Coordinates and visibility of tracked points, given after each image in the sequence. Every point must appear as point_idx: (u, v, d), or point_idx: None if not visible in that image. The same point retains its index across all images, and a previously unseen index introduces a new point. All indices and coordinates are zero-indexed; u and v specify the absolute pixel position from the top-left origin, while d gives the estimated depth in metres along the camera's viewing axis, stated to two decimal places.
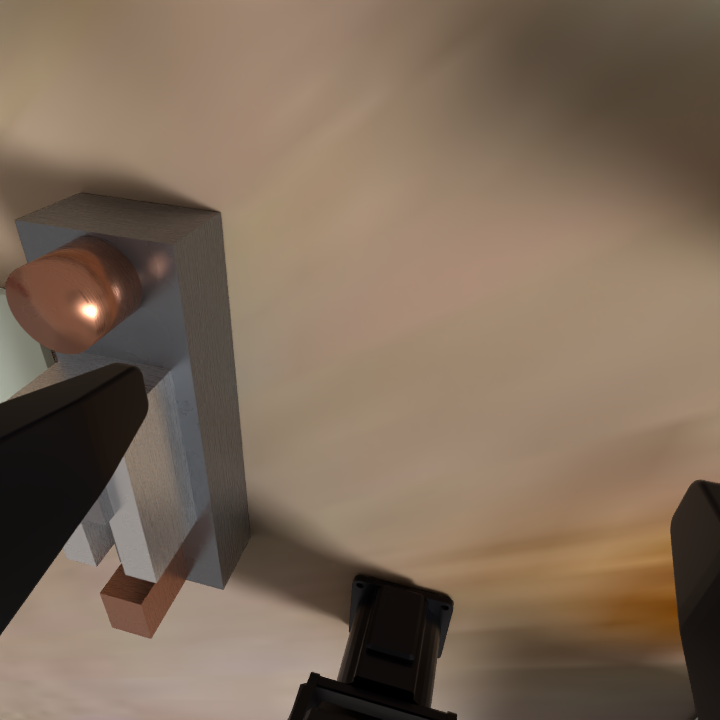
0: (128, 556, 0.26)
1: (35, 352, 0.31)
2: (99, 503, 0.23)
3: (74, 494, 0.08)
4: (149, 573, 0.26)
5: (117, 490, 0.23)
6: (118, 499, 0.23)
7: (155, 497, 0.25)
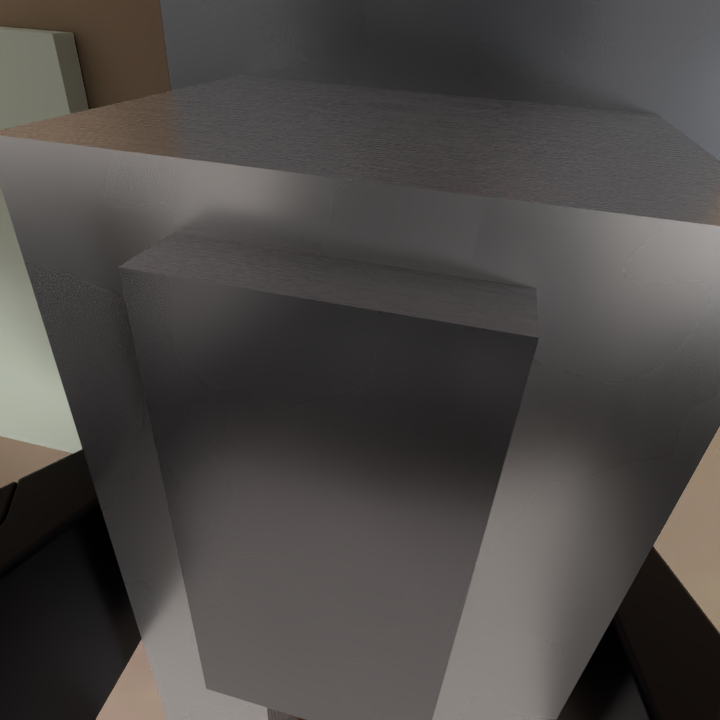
0: None
1: None
2: (440, 687, 0.05)
3: None
4: None
5: (511, 618, 0.05)
6: (491, 650, 0.05)
7: None
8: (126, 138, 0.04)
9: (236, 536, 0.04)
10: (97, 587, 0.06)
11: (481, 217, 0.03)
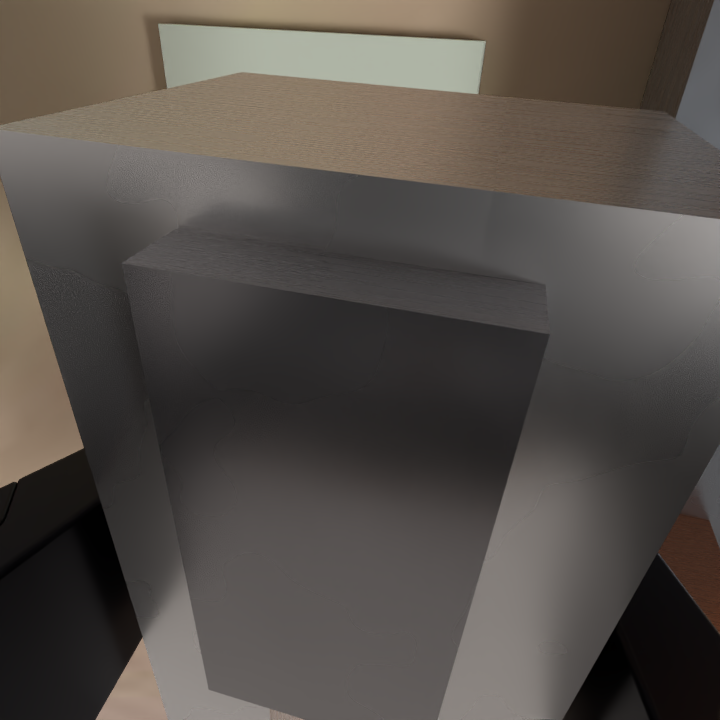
0: None
1: None
2: (447, 688, 0.05)
3: None
4: None
5: (517, 619, 0.05)
6: (496, 651, 0.05)
7: None
8: (129, 133, 0.04)
9: (240, 536, 0.04)
10: (97, 587, 0.06)
11: (490, 212, 0.03)
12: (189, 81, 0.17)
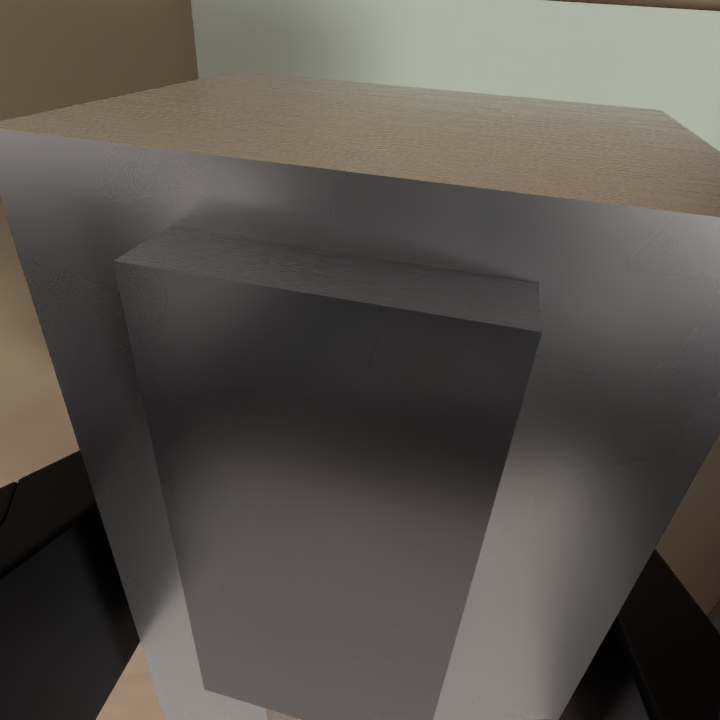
0: None
1: None
2: (441, 688, 0.05)
3: None
4: None
5: (513, 619, 0.05)
6: (492, 650, 0.05)
7: None
8: (122, 131, 0.04)
9: (234, 535, 0.04)
10: (97, 587, 0.06)
11: (483, 209, 0.03)
12: None
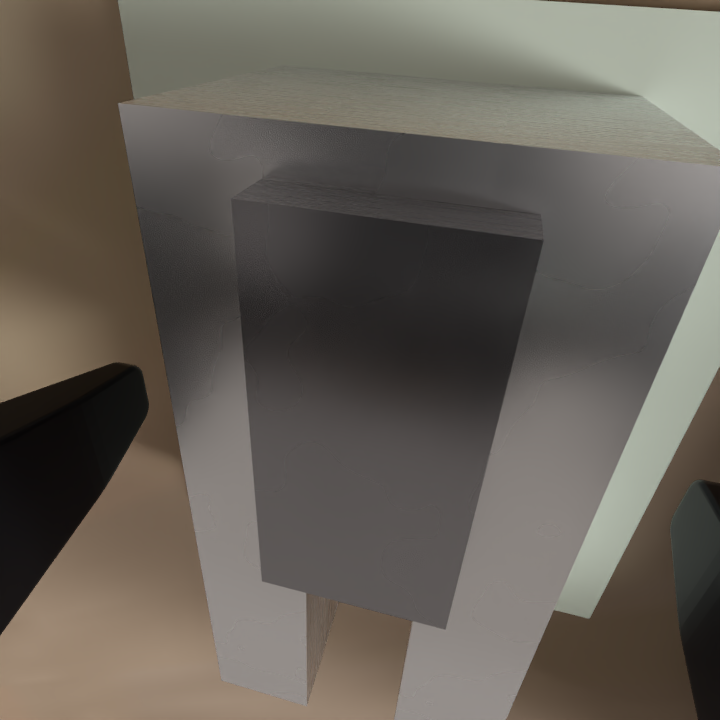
0: (431, 696, 0.09)
1: None
2: (463, 557, 0.06)
3: (74, 494, 0.08)
4: None
5: (520, 506, 0.06)
6: (503, 538, 0.06)
7: None
8: (224, 107, 0.05)
9: (302, 427, 0.05)
10: None
11: (500, 160, 0.04)
12: None
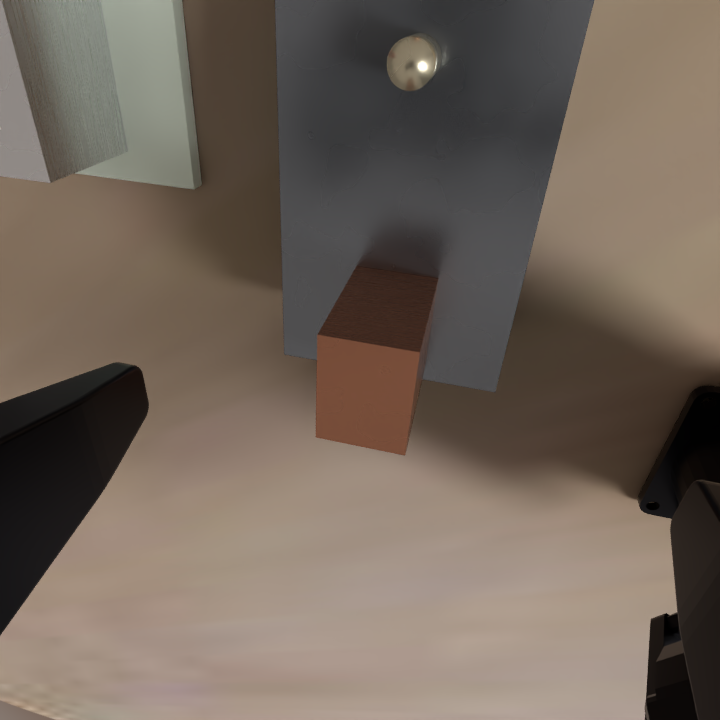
0: None
1: None
2: None
3: (74, 494, 0.08)
4: (35, 158, 0.15)
5: None
6: None
7: None
8: None
9: None
10: None
11: None
12: None
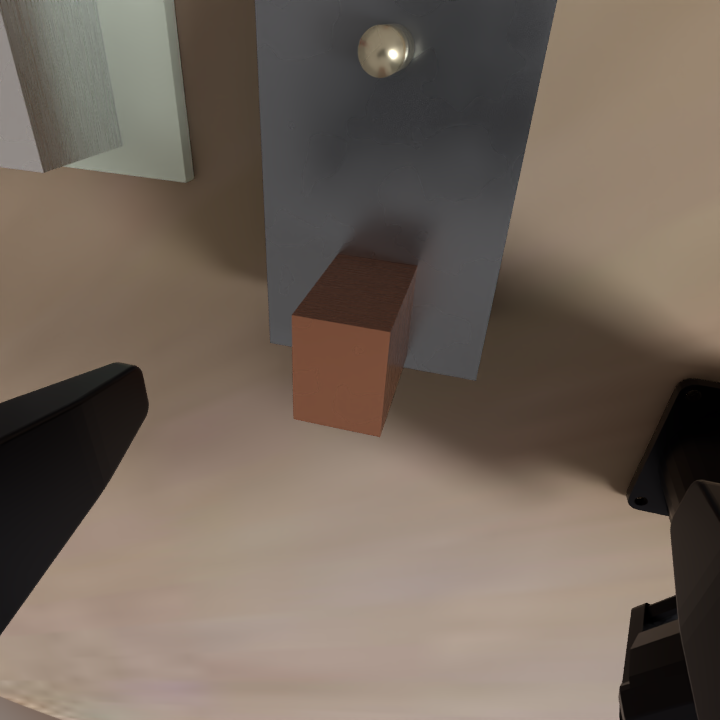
0: None
1: None
2: None
3: (74, 494, 0.08)
4: (29, 148, 0.16)
5: None
6: None
7: None
8: None
9: None
10: None
11: None
12: None
